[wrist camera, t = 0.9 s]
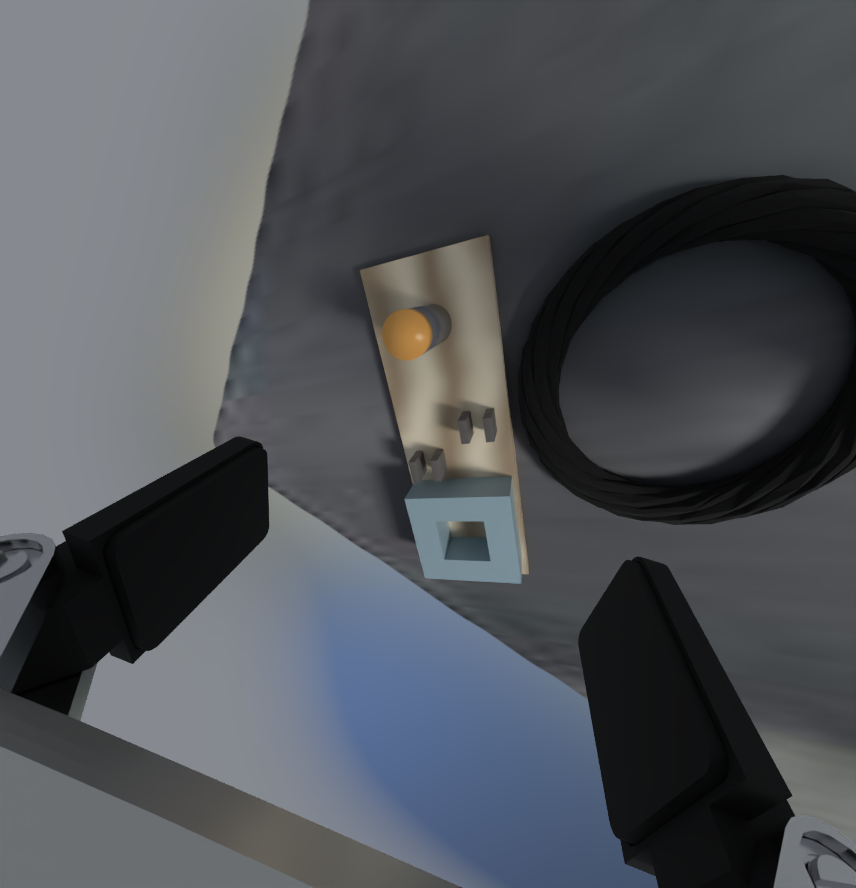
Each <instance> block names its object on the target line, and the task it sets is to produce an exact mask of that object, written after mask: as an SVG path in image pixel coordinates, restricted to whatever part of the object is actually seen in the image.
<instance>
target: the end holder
mask: <svg viewBox="0 0 856 888" xmlns="http://www.w3.org/2000/svg"><path fill="white" fill-rule="evenodd" d="M405 503H406V507H407V511H408V515H409V518H410V522H411V526H412V530H413V534H414V537H415V541H416V545H417V549H418V553H419V556H420V560H421V564H422V568H423V572H424V575H425V578H430V579H448V580H466V581H483V582H501V583H519V584H521V576H522V552H521V544H520V536H519V528H518V520H517V512H516V504H515V496H514V488H513V480H512V476H501V477H478V478H455V479H442V481H434V479H432V480H421V481H420V482H414V484H413V486H412V487H411V489H410V491H409V492H408V494H407V496H406V497H405ZM448 521H484V525H485V531H486V537H452V536H451V531H450V526H449V522H448Z"/></svg>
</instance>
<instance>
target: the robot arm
mask: <svg viewBox="0 0 856 888" xmlns="http://www.w3.org/2000/svg"><path fill="white" fill-rule="evenodd" d="M268 529H269V503H268V464H267V452H266V450H264V449H263V446H262V444H261V443H259V442H257V441H253V440H250V439H247V438H243V437H235V438H233V439H231V440H229V441H227V442H225V443H224V444H222V445H220V446H218V447H216V448H214V449H213V450H211V451H209V452H207V453H205V454H203V455H202V456H200V457H198V458H196V459H194V460H192V461H190V462H189V463H187V464H185V465H183V466H181V467H180V468H178V469H176V470H174V471H172V472H170V473H168V474H167V475H165V476H163V477H161V478H159V479H157V480H156V481H154V482H152V483H150V484H148V485H146V486H145V487H143V488H141V489H139V490H137V491H135V492H133V493H132V494H130V495H128V496H126V497H125V498H123V499H121V500H119V501H117V502H116V503H113V504H112V505H110V506H108V507H106V508H104V509H102V510H100V511H99V512H97V513H95V514H93V515H91V516H89V517H87V518H86V519H84V520H82V521H80V522H78V523H76V524H75V525H73V526H71V527H69V528H67V529H66V530H64V531H62V532H63V534H64V537H65V539H66V541H65V542H63V543H62V544H60V545H58V546H57V547H56V545H55V544H54V542H53V540H52V539H51V538H49V537H47V536H45V535H40V534H34V533H22V534H11V535H6V536H1V537H0V888H462V887H459V886H457V885H455V884H453V883H450V882H448V881H446V880H443V879H441V878H439V877H437V876H435V875H432V874H430V873H428V872H426V871H423V870H421V869H419V868H416V867H414V866H412V865H410V864H408V863H405V862H403V861H401V860H398V859H396V858H394V857H392V856H389V855H387V854H385V853H382V852H380V851H378V850H375V849H373V848H371V847H369V846H367V845H364V844H362V843H360V842H357V841H355V840H353V839H351V838H348V837H346V836H344V835H341V834H339V833H337V832H334V831H332V830H330V829H328V828H325V827H323V826H321V825H318V824H316V823H314V822H312V821H309V820H307V819H305V818H302V817H300V816H298V815H296V814H293V813H291V812H289V811H287V810H284V809H282V808H280V807H277V806H275V805H273V804H271V803H268V802H266V801H264V800H261V799H259V798H256V797H255V796H252V795H250V794H248V793H245V792H243V791H241V790H239V789H236V788H234V787H232V786H229V785H227V784H225V783H222V782H220V781H218V780H216V779H213V778H211V777H209V776H206V775H204V774H202V773H199V772H197V771H195V770H192V769H190V768H188V767H185V766H183V765H181V764H178V763H176V762H174V761H172V760H169V759H167V758H165V757H162V756H160V755H158V754H155V753H153V752H151V751H148V750H146V749H144V748H141V747H139V746H137V745H134V744H132V743H130V742H127V741H125V740H123V739H121V738H118V737H116V736H113V735H111V734H109V733H107V732H104V731H102V730H100V729H97V728H95V727H92V726H90V725H87V724H86V723H83V722H81V721H80V720H81V717H82V713H83V710H84V706H85V703H86V700H87V696H88V693H89V689H90V686H91V683H92V679H93V676H94V672H95V669H96V665H97V662H98V661H99V660H101V659H102V658H103V657H104V656H105V655H106V654H107V653H108V652H110V654H111V655H112V656H115V657H117V658H119V659H122V660H124V661H127V662H129V663H132V664H133V663H134V662H135V661H136V660H137V659H138V658H139V657H140V656H141V655H142V654H143V653H144V652H145V651H150V650H152V649H154V648H156V647H157V646H158V645H159V644H160V643H161V642H162V641H163V640H164V639H165V638H166V637H167V636H168V635H169V634H170V633H171V632H172V631H173V630H174V629H175V628H176V627H177V626H178V625H179V624H180V623H181V622H182V621H183V620H184V619H185V618H186V617H187V616H188V615H189V614H190V613H191V612H192V611H193V610H194V609H195V608H196V607H197V606H198V605H199V604H200V603H201V602H202V601H203V600H204V599H205V598H206V597H207V596H208V595H209V594H210V593H211V592H212V591H213V590H214V589H215V588H216V587H217V586H218V585H219V584H220V583H221V582H222V581H223V579H225V578H226V577H227V576H228V575H229V574H230V573H231V572H232V571H233V570H234V569H235V568H236V567H237V566H238V565H239V564H240V563H241V562H242V560H243V559H244V558H245V557H246V556H247V555H248V554H249V553H250V552H251V551H252V550H253V549H254V548H255V547H256V546H257V545H258V544H259V543H260V542H261V541H262V540H263V539H264V538H265V536H266V535H267V533H268ZM578 644H579V651H580V657H581V663H582V668H583V674H584V680H585V685H586V691H587V697H588V702H589V708H590V714H591V719H592V725H593V731H594V736H595V742H596V747H597V753H598V759H599V764H600V770H601V776H602V781H603V787H604V793H605V798H606V804H607V810H608V816H609V821H610V825H611V828H612V831H613V833H614V835H615V836H616V837H617V838H618V839H620V840H621V846H622V851H623V856H624V861H625V864H627V865H630V866H632V867H634V868H637V869H639V870H642V871H644V872H647V873H649V874H652V875H654V876H656V879H657V883H658V887H659V888H856V844H855V843H854V842H853V841H851V840H850V839H849V838H848V837H846V836H845V835H844V834H843V833H841V832H840V831H839V830H837V829H835V828H833V827H832V826H830V825H828V824H826V823H825V822H823V821H821V820H819V819H816V818H813V817H809V816H806V815H799V816H795V815H794V813H793V811H792V809H791V807H790V805H789V803H788V801H787V800H786V799H788V798H790V797H791V796H792V794H791V792H790V790H789V789H788V787H787V785H786V783H785V781H784V779H783V778H782V776H781V774H780V772H779V770H778V768H777V767H776V765H775V763H774V761H773V759H772V757H771V756H770V754H769V752H768V750H767V748H766V746H765V744H764V743H763V741H762V739H761V737H760V735H759V733H758V732H757V730H756V728H755V726H754V724H753V722H752V721H751V719H750V717H749V715H748V713H747V711H746V709H745V708H744V706H743V704H742V702H741V700H740V698H739V697H738V695H737V693H736V691H735V689H734V687H733V686H732V684H731V682H730V680H729V678H728V676H727V675H726V673H725V671H724V669H723V667H722V665H721V663H720V662H719V660H718V658H717V656H716V654H715V652H714V651H713V649H712V647H711V645H710V643H709V641H708V640H707V638H706V636H705V634H704V632H703V630H702V628H701V627H700V625H699V623H698V621H697V619H696V617H695V616H694V614H693V612H692V610H691V608H690V606H689V605H688V603H687V601H686V599H685V597H684V595H683V594H682V592H681V590H680V588H679V586H678V584H677V582H676V581H675V579H674V577H673V575H672V573H671V571H670V570H669V568H668V567H667V566H666V565H664V564H662V563H659V562H655V561H652V560H649V559H645V558H642V557H635V558H634V559H633V560H632V561H630V560H626V561H625V562H624V563H623V564H622V566H621V567H620V569H619V570H618V572H617V574H616V575H615V577H614V578H613V580H612V581H611V583H610V585H609V586H608V588H607V589H606V591H605V593H604V594H603V596H602V597H601V599H600V600H599V602H598V604H597V605H596V607H595V608H594V610H593V612H592V613H591V615H590V616H589V618H588V619H587V621H586V623H585V624H584V626H583V627H582V629H581V631H580V634H579V640H578Z"/></svg>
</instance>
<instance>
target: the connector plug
mask: <svg viewBox="0 0 856 888" xmlns="http://www.w3.org/2000/svg"><path fill="white" fill-rule="evenodd" d="M451 328H452V322H451V318H450V315H449V313H448V312H447V311H446V309H444V308H443V307H442V306H440V305H437V304H429V305H424V306H418V307H413V308H408V309H402V310H398V311H395V312H393V313H392V314H391V315H389V316H388V318H387V319H386V321H385V322H384V325H383V329H382V338H383V342H384V345H385V347H386V349H387V350H388V351H389V353H390V354H391V355H393V356H394V357H396V358H398V359H400V360H405V361H409V360H413V359H416V358H418V357H419V356H421V355H422V354H424V353H426V352H427V351H429V350H430V349H432V348H434V347H435V346H437V345H438V344H440V343H442V342H443V341H445V340H446V339H447V337H448V336H449V334H450V332H451Z"/></svg>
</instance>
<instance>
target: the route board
mask: <svg viewBox="0 0 856 888" xmlns="http://www.w3.org/2000/svg"><path fill="white" fill-rule="evenodd" d="M360 274H361V278H362V282H363V286H364V290H365V294H366V298H367V302H368V306H369V310H370V314H371V318H372V322H373V326H374V330H375V334H376V338H377V342H378V346H379V350H380V354H381V358H382V362H383V366H384V371H385V375H386V379H387V383H388V387H389V391H390V395H391V399H392V403H393V407H394V411H395V415H396V419H397V423H398V427H399V431H400V435H401V439H402V443H403V447H404V451H405V455H406V459H407V463H408V467H409V471H410V475H411V479H412V483H413V484H414V482H420V481H421V480H432V479H434V481H442V479H455V478H478V477H501V476H512V480H513V488H514V496H515V504H516V512H517V520H518V528H519V536H520V544H521V552H522V574H529V565H528V557H527V548H526V540H525V531H524V523H523V514H522V506H521V497H520V489H519V480H518V472H517V463H516V455H515V446H514V438H513V429H512V421H511V412H510V404H509V395H508V387H507V378H506V370H505V361H504V353H503V344H502V336H501V327H500V319H499V310H498V302H497V293H496V285H495V276H494V268H493V259H492V251H491V242H490V236H489V235H486V236H482V237H478V238H475V239H471V240H468V241H464V242H460V243H457V244H453V245H449V246H446V247H442V248H439V249H435V250H431V251H428V252H424V253H420V254H417V255H413V256H410V257H406V258H402V259H399V260H395V261H391V262H388V263H384V264H381V265H377V266H373V267H370V268H366V269H362V270H360ZM429 304H437V305H440V306H442V307H443V308H444V309H446V311H447V312H448V313H449V315H450V318H451V322H452V328H451V332H450V334H449V336H448V337H447V339H446V340H445V341H443V342H442V343H440V344H438V345H437V346H435V347H434V348H432V349H430V350H429V351H427V352H426V353H424V354H422V355H421V356H419V357H418V358H416V359H413V360H409V361H405V360H400V359H398V358H396V357H394V356H393V355H391V354H390V353H389V351H388V350H387V349H386V347H385V345H384V342H383V338H382V329H383V325H384V322H385V321H386V319H387V318H388V316H389V315H391V314H392V313H393V312H395V311H398V310H402V309H408V308H413V307H418V306H424V305H429ZM448 522H449V526H450V531H451V536H452V537H486V531H485V525H484V521H448Z"/></svg>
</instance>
